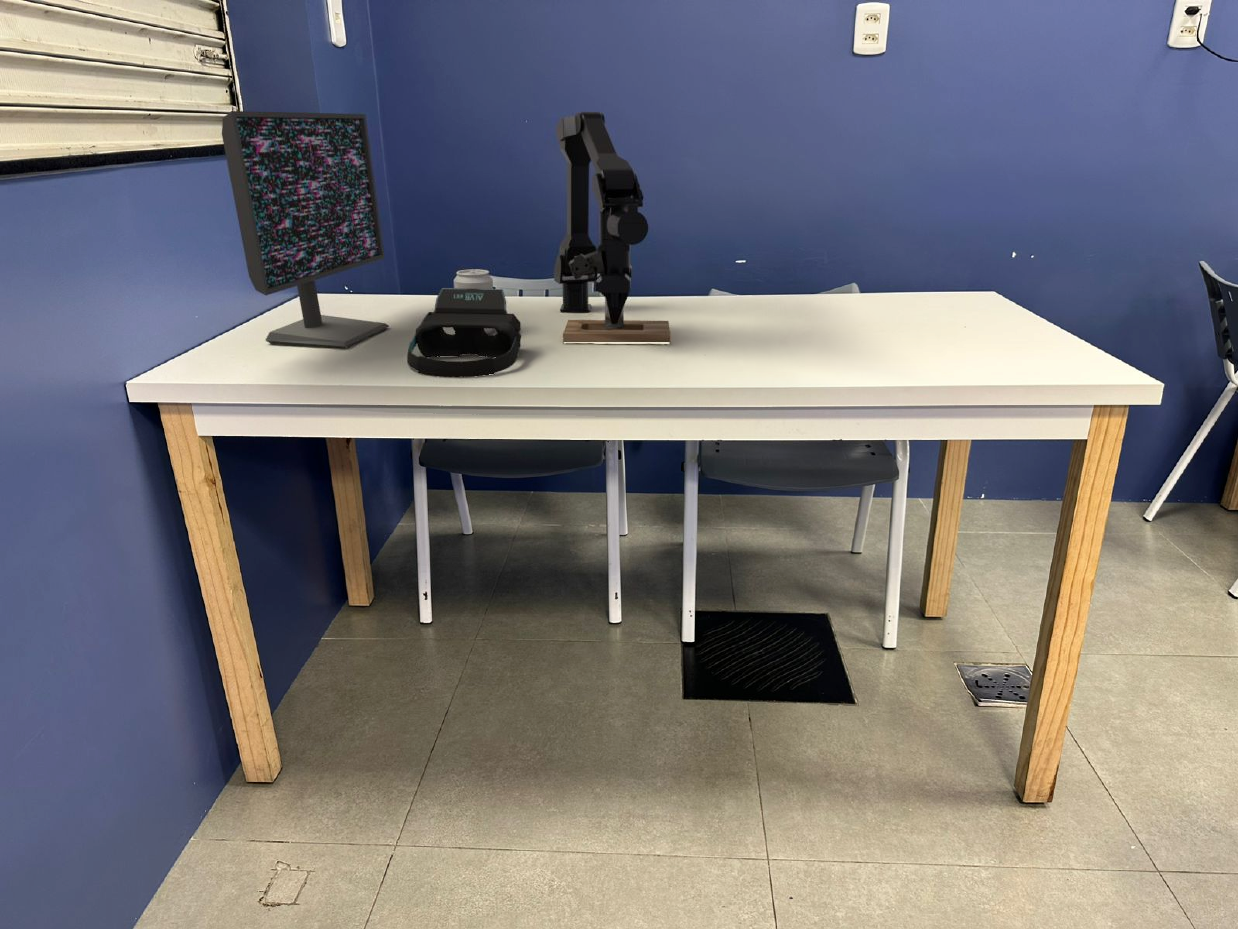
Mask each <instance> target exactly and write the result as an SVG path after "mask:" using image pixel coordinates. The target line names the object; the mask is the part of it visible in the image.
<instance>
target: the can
mask: <svg viewBox="0 0 1238 929" xmlns="http://www.w3.org/2000/svg"><path fill="white" fill-rule="evenodd" d="M489 273H490V271H489V270H487V269H477V268H476V269H462V270H457V271H456V276H455V278H454V279H453V288H470V289H494V284H493V278H492V276H490V275H489ZM484 330H485V332H486V333H487V334H489V335H490V334H491V333H492V332H493V331H494V329H489V328H484Z"/></svg>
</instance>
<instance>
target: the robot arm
mask: <svg viewBox="0 0 1238 929" xmlns="http://www.w3.org/2000/svg"><path fill="white" fill-rule="evenodd" d="M605 119H606V118H605V115H604V113H601V112H600V111H580V112H578V113H576V114H574V115H571V116H563V117H562V118H561V119H560V120H559V121H558V122H557V124H556V129H555V130H556V132H555V133H556V140H557V141H558V144H559V145H558V146H559V147H558V148H559V150H560V151H561V153H562V156H563V157H564V159H565V161H566V172H567V173H566V234H565V236H564V238H563V239H562V241H561V243H560V244H559V251H558V252H559V253H558V255H557V257H556V261H555V264H554V268H553V277H554V278H553V279H554V281H555V282H556V283H558V284H559V285H562V304H561V306H560V308H559V312H561V313H563V312H566V313H569V312H570V313H571V312H572V313H577V312H578V313H579V312H580V313H588V312H589V313H590V311H591V308H592V304H590V303H589V283H591V282H592V283H595V292H597V293H600V294H601V295H602V296H603V297H604V299H605V298H606V301H607V305H608V310H609V315H610V320H611V323H612V324H617V323H618V320H619V317H620V315H621V312H622V310H623V307H625V304H626V302H627V299H628V297H629V294H630V292H631V284H632V281H631V279H632V277H633V266H632V265H631V246H635V245H638V244H641V243H642V242H643V241H644V240H645V239H646V237H647V235H648V232H649V224H648V220H647V218H646V217H645V216H644V214H642V213H641V212H639V208H642V207H643V206H644V203H643V201H644V195H643V191H642V188H641V185H640V182H639V180H638V177H637V176H638V175H637V174H636V173H635V172H634V169H633V167H632V166H631V165H630V163H629V161H628V160H626V159H624V158H622V157H620V156H619V155H618V153H617V151H616V148H615V146H614V145H615V144H614V143H613V141H612V139H611V136H610V133H609V131H608V129H607V127H606V120H605ZM590 163H592V165H593V168H594V173H593V175H592V179H591V184H592V185H591V186H592V192H593V194H594V197H595V200H596V202H597V206H598V211H599V212H598V213H599V214H598V216H599V218H598V219H599V223H598V224H599V227H598V228H599V235H598V236H599V238H598V239H599V242H598V244H597V245H598V246H596V245H595V244H594V243H593V241H592V239H591V237H590V235H589V231H590V230H589V228H590V227H589V225H590V224H589V222H590V221H589V220H590V218H589V217H590V215H589V214H590V213H589V212H590Z"/></svg>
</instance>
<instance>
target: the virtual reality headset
mask: <svg viewBox="0 0 1238 929" xmlns="http://www.w3.org/2000/svg"><path fill="white" fill-rule="evenodd" d="M444 328H447V329H448V328H451V329H453V331H454V333H453V334H451V333H448V332H446V331H445V330H444ZM484 328H489V329H493V330H495V332H496V334H492V335H491V334H490V333H489V334H487V333H486V332H485V330H484ZM521 328H522V327H521V321H520V320H519V318H518V317H517V316H516V315H515V314H514V313H508V311H507V298H506V295H505V292H504V289H503V288H493V289H470V288H454V287H441V288H440V290H439V292H438V295H437V297H436V300H435V305H434V309H433V311H428V312H427V314H426V315H425V316H424V318H423V319H422V321H421V323H420V325H418V327H416V330H415V333H414V336H413V338H412V340H411V341H410V343H409V345H408V348H407V356H406V360H407V365H408V367H410V368H411V369H412V370H415V371H417V374H421V375H423V374H424V375H425V376H428V375H429V377H430V376H431V377H437V376H439V378H473V377H475V376H477V377H484V376H483V375H486V376H490V375H489V374H494V373H495V374H496V373H500V372H501V371H504V370H507V369H509V368H511V367H513V365H514V364H515V363H516V361H517V359H518V356H519V353H520V349H521V347H522V343H521V340H522V334H521V330H522V329H521ZM415 347H416V348H418V350H419V353H420V354H421V355H416V354H414V353H413V351H414V349H415ZM462 354H465V355H475V354H477V357H479V356H485V357H484V358H482V359H481V358H480V359H474V360H459V361H458V360H441V359H435V358H441V357H440V356H458V357H461V356H463V355H462ZM437 356H438V357H437ZM486 356H487V357H486ZM427 357H431V358H427ZM493 357H496V358H493ZM495 374H494V375H495ZM424 375H423V376H424Z"/></svg>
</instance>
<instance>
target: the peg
mask: <svg viewBox="0 0 1238 929" xmlns="http://www.w3.org/2000/svg"><path fill="white" fill-rule="evenodd" d="M624 307H625V306H624ZM624 307H623V310H622V312H621V315H620V317H619V320H618V323H617V324H612V323H611V320H610V315H609V310H608V305H607V301H606V298H605V297H604V320H605V330H624V320H625V319H624V318H625V317H624V316H625V314H624V313H625V310H624V309H625V308H624Z"/></svg>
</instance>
